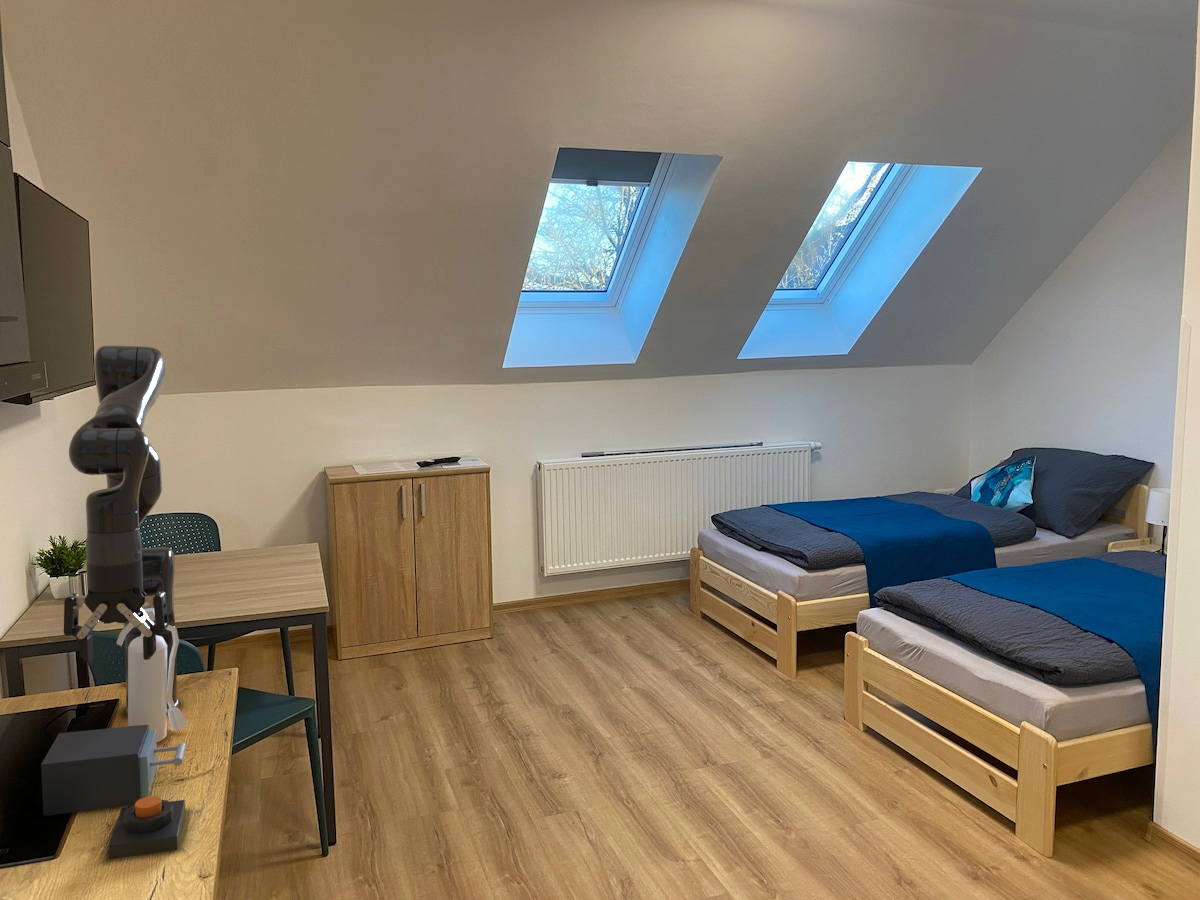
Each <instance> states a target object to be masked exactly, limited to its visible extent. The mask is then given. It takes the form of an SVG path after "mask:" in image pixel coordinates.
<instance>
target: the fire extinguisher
mask: <svg viewBox="0 0 1200 900" xmlns="http://www.w3.org/2000/svg"><path fill="white" fill-rule="evenodd" d="M143 610H144V612H145V613H146V614H147V615H148V618H149V619H150V620H151V621H152V623H153V620H155V614H154V608H148V609H143ZM128 622H129V621H128ZM153 624H155V623H153ZM133 627H134V626H133V625H132V624H131V622H130V623H129V624H128V625H127V626H126V627H125V628H124V627H123V629H122V630H121V631H120V633H119V635H118V637H117V640H116V645H117V646H120V647H122V646H123V645H124V639H125V636H126V635H127V634H128V633H129V632H130V630H131V629H132V628H133ZM166 629H167V630H169V631H172V637H173V646H172V650H171V654H170V658H169V671H168V684H167V644H166V642H165V640H164V639H163V637H161V636H157V635H156V652H155V653H154V655H153V656H152V657H151V658H150V659H149V660H144V658H143V637H144V635H143V633H141V636H140V637H137V638H135V639H134V640H132V641H131V643H130V645H129V647H128V715H127V726H137V725H147V724H149V731H151V730H156V742H157V743H159V742H161V741H163V740H164V739H165V738H166V737H167V734H168V733H167V731H168V730H167V728H168V726H167V724H168V723H167V722H168V721H169V726H170V730H171V732H180V731H181V730H183V729H184V728H186V727H187V726H189V722H188V721H187V719H186V718H185V716H184V714H183V713H182V711H181V710H180V708H179V707H175V705H174V702H173V699H172V691H173V678H174V666H175V657H176V658H177V652H178V647H179V644H180V640H179V633H178V629H177V627H176V626H175V627H173V626H170V625H168V627H167V628H166ZM167 703H168V706H169V710H168V713H167ZM167 719H168V721H167Z"/></svg>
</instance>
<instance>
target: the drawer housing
mask: <svg viewBox="0 0 1200 900" xmlns="http://www.w3.org/2000/svg"><path fill="white" fill-rule="evenodd" d="M148 731H149V724H147V725H137V726H128V725H127V726H118V727H108V728H99V729H89V730H79V731H70V732H69V731H68V732H59V733H58V734H57V736H56V738H55V740H54V742H53V743H52V745H51V747H49V750H48V752H47V754H46V755H45V757H44V758H43V760H42V761H41V764H40V768H41V770H40V771H41V791H42V792H41V793H42V812H43V813H42V814H43V817H49V816H57V815H64V814H72V813H80V812H88V811H96V810H104V809H112V808H119V807H121V808H122V807H130V806H133V805H134V804H135V803H136V802H137V801H138V800H139V799H141V798H143V797H140V771H139V755H140V754H141V751H142V748H143V745H144V742H145V739H146V737H147V734H148Z"/></svg>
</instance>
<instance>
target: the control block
mask: <svg viewBox="0 0 1200 900" xmlns="http://www.w3.org/2000/svg"><path fill="white" fill-rule="evenodd" d="M161 804H162V811H161V812H160V813H159V814H156V815H154V816H151V817H144V818H141V817H136V816H135V804H134V805H130V806H123V807H121V810H120V813H119V815H118V818H117V821H116V824H115V827H114V830H113V832H112V835H111V838H110V841H109V843H108V859H109V860H114V859H121V858H128V857H137V856H141V855H142V856H143V855H149V854H156V853H163V852H170V851H177V850H178V849H179V844H180V841H181V840H180V839H181V836H182V835H181V834H182V831H183V825H184V821H185V816H186V799H180V800H172V801H171V800H170V801H169V800H168V799H161Z"/></svg>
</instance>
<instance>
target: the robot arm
mask: <svg viewBox="0 0 1200 900" xmlns="http://www.w3.org/2000/svg"><path fill="white" fill-rule="evenodd" d="M165 364H166V363H165V359H164V356H163V353H162V352H161V351H160V350H159V349H157V348H155V347H152V346H144V345H140V346H139V345H101V346H100V347H99V348H98V349H97V350H96V351H95V355H94V365H93V367H94V379H95V385H96V392H97V398H98V404H99V405H98V407H97V408H96V412H95V415H94V416H93V417H91V418H90V419H89V420H88V421H86V422H84V424H82V425H81V426H80V427H79V428H78V429H77V431H76V432H75V433H74V434H73V436H72V438H71V440H70V443H69V446H68V457H69V461H70V464H71V465H72V467H73V468H74V469H75V470H76V471H78V472H79V473H81V474H83V475H87V476H88V475H90V476H100V475H101V476H102V475H105V477H106V485H107V486H106V488H102V489H97V490H94V491H92V492H90V493H89V494H88V495H87V496H86V498H85V499H86V500H85V514H86V517H85V518H86V540H85V553H84V554H85V555H84V556H85V557H84V558H85V562H86V563H85V564H86V587H87V593H86V595H79V594H78V593H76V592H74V593H70V594H69V596H67V597H66V598H65V599H64V601H63V604H64V605H63V634H64V636H67V637H69V636H73V637H76V639H77V640H78V657H79V658H80V659H82V661H83V663H89V662H91V661H92V660H93V659H94V637H93V634H91V632H92V631H93V630H94V628H95V627H96V626H97V625H98V624H99V622H102V623H103V625H106V624H113V623H117V624H123V629H124V628H125V627H126V626H127V625H128V624H129V623H130V622H131V624H132V625H133V626H134V627H133V628H132V629H131V630H130V632H129V633H128V634H127V635H126V636H125V639H124V641H123V645H124V669H125V671H124V672H125V701H126V702H125V703H126V707H125V711H126V712H125V713H126V715H127V716H128V647H129V645H130V643H131V641H132V640H134V639H135V638H137V637H140V636H141V633H143V635H144V637H143V658H144V660H149V659H150V658H151V657H152V656H153V655H154V653H155V652H156V635H157V636H161V637H163V639H164V640H165V642H166V644H167V684H168V671H169V658H170V654H171V650H172V646H173V637H172V631H169V630H167V629H166V628H167V627H168V625H170V626H173V627H175V628H176V612H175V611H176V610H175V606H176V605H175V587H176V586H175V583H176V559H175V553H174V552H173V550H172V549H171V548H169V547H163V546H162V547H144V548H143V546H142V544H143V543H142V536H141V532H140V527H141V524H143V522H144V520H145V519H146V518H147V516H148V515H149V514H150V513H151V511H152V510H153V508H155V506H156V504H157V502H158V501H159V499H160V497H161V494H162V491H163V481H162V480H163V479H162V466H161V465H162V464H161V458H160V457H159V454H158V453H157V451H156V449H155V448H154V447H153V446H152V445H151V443H150V441H149V438H148V436H147V435H146V434H145V433H144V431H143V429H144V425H145V420H146V417H147V415H148V413H149V411H150V410H151V409H152V407H153V406H154V405H155V403H156V402H157V401H158V399H159V398H160V396H161V394H162V393H163V390H164V387H165V383H166V365H165ZM145 603H147V604H145ZM84 604H85V606H86V607H87V609H88V610H89V611H90V612H91V614H90V617H89V618H88V619H87V620H86V621H85V622H84V624H83V625H79V610H81V608H82V607H84ZM148 608H154V614H155V620H153V623H155V624H153V623H152V621H151V620H150V619H149V618H148V615H147V614H146V613H145V612H144V610H143V609H148ZM128 621H129V622H128ZM177 667H178V666H177V656H176V657H175V666H174V678H173V691H172V699H173V702H174V705H175V707H177V708H179V699H178V672H177V671H178V670H177V669H178V668H177ZM168 710H169V706H168V703H167V714H168Z"/></svg>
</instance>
